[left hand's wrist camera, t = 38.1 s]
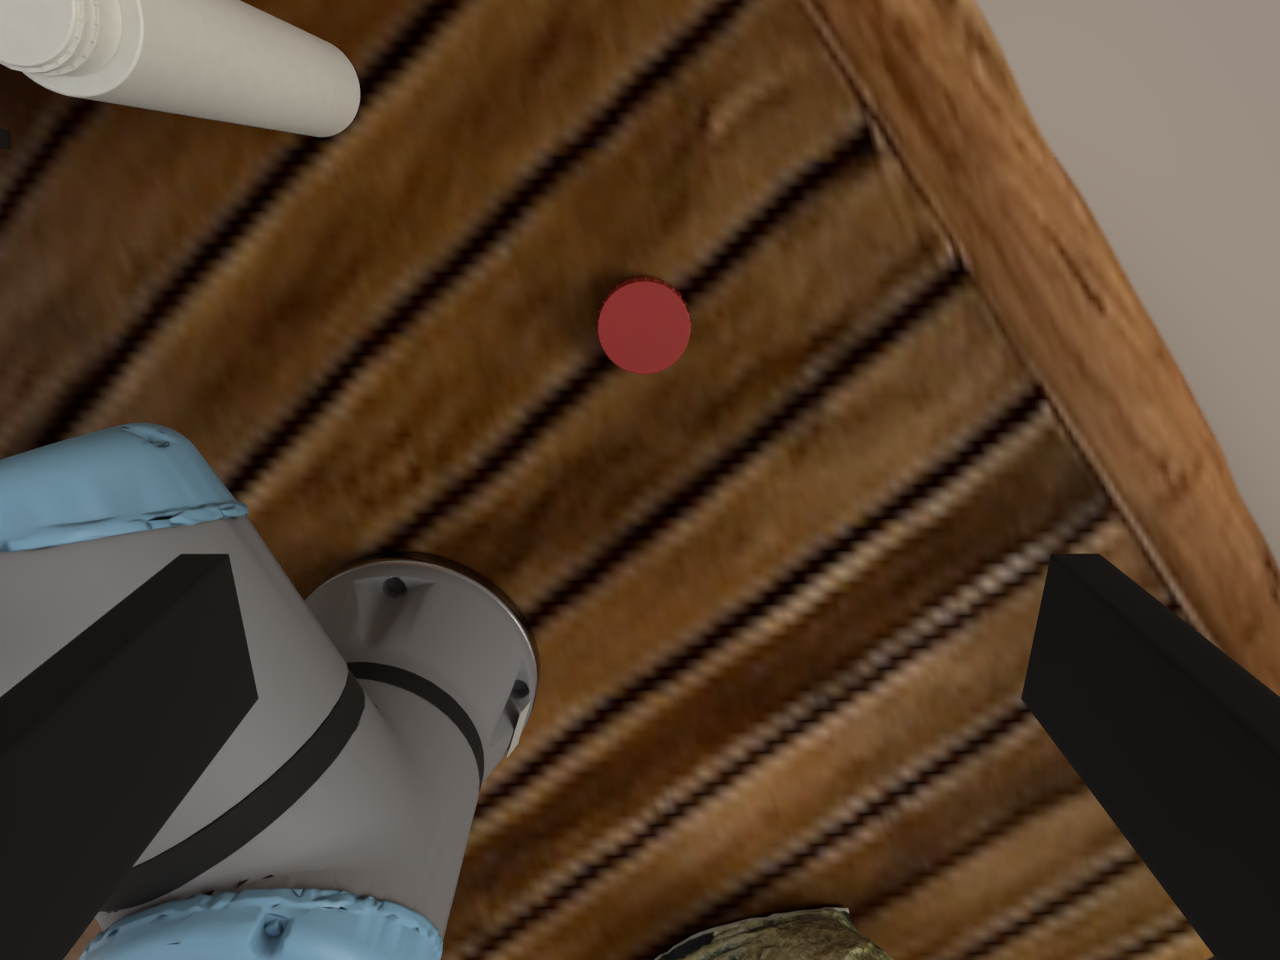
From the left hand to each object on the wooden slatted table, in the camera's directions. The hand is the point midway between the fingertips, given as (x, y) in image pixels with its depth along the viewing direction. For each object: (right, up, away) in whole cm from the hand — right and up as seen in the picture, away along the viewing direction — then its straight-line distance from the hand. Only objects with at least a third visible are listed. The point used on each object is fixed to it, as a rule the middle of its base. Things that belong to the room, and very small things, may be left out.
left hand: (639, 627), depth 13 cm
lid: (0, +10, +27) cm, 28 cm away
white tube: (-16, +21, +24) cm, 36 cm away
